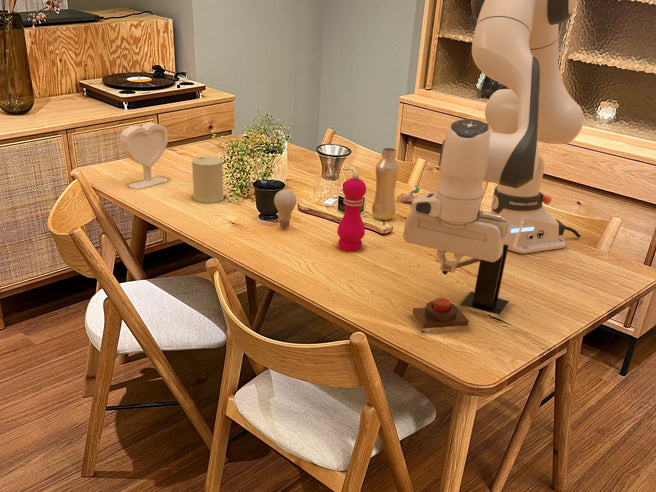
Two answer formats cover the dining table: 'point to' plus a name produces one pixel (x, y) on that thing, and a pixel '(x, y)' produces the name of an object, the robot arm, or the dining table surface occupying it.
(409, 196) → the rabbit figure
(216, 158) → the can
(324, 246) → the dining table surface
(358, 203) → the pepper mill
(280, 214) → the lightbulb
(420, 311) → the button box
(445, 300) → the button
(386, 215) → the plastic bottle
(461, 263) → the switch lever
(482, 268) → the switch bracket
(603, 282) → the dining table surface
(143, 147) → the heart sculpture
